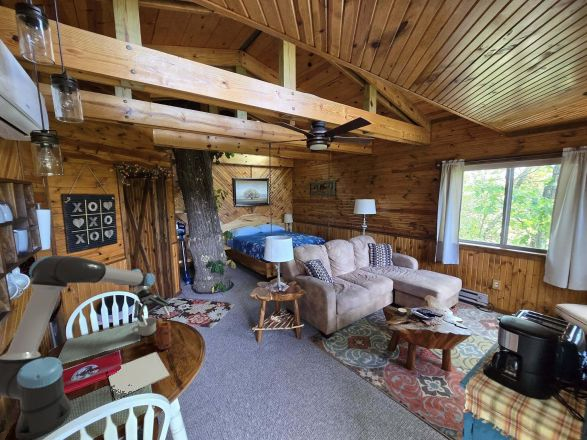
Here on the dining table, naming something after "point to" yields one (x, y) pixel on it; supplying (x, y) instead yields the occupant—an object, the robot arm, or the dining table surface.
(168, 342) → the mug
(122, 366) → the placemat
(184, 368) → the dining table surface
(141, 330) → the teacup
